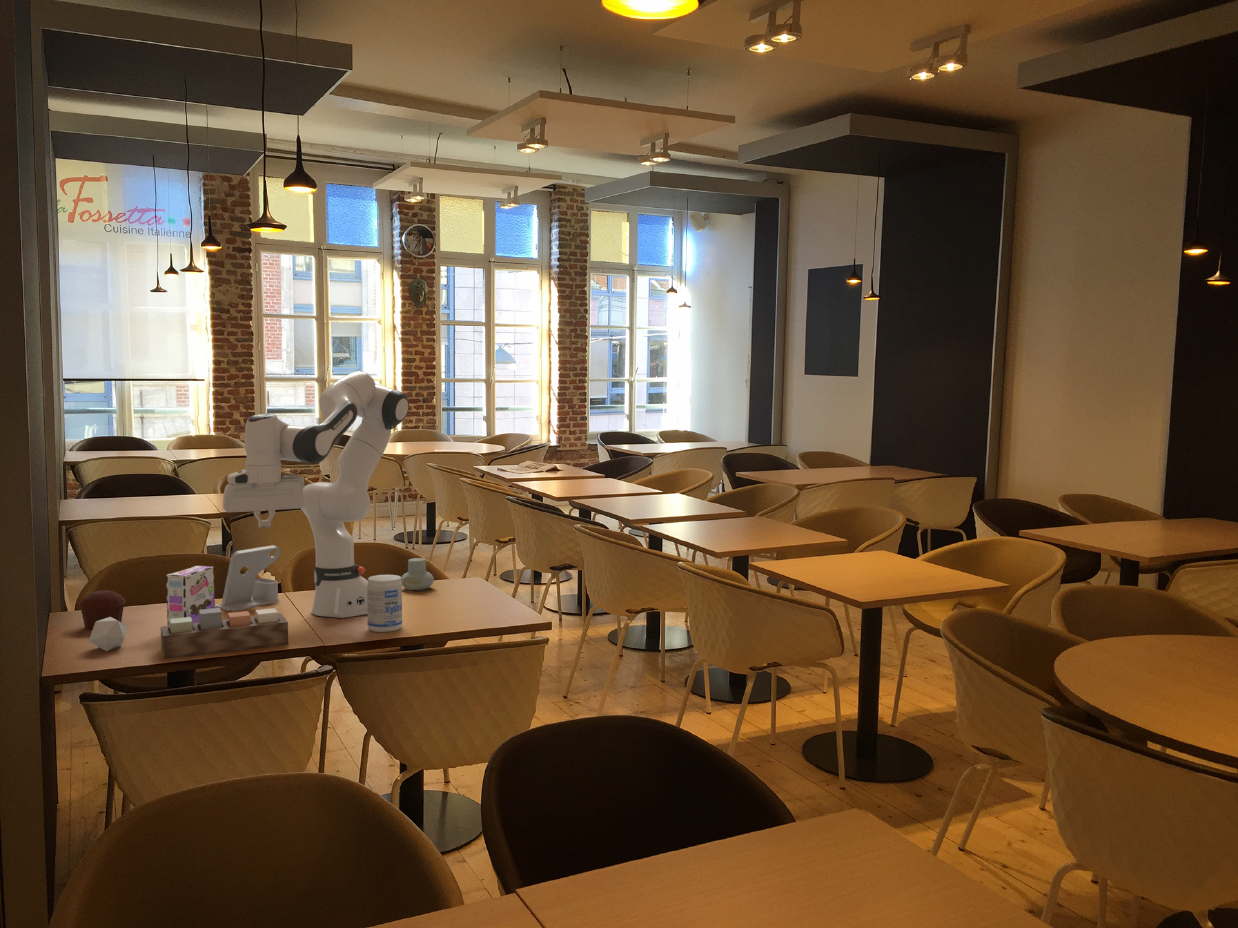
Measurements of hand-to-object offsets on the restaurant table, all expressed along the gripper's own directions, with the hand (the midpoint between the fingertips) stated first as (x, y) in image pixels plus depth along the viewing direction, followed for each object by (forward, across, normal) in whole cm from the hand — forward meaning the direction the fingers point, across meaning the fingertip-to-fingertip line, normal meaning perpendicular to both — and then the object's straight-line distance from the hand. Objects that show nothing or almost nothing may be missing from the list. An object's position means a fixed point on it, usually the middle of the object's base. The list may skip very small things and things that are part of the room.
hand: (264, 527), depth 255 cm
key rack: (+31, +10, 0) cm, 33 cm away
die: (+31, +38, -12) cm, 50 cm away
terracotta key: (+28, +7, 0) cm, 29 cm away
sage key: (+28, +21, 0) cm, 35 cm away
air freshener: (+31, -54, -44) cm, 77 cm away
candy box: (+31, +16, -25) cm, 43 cm away
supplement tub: (+31, -32, +1) cm, 44 cm away
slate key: (+26, +14, 0) cm, 30 cm away
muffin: (+31, +38, -37) cm, 62 cm away
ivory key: (+28, 0, 0) cm, 28 cm away
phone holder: (+31, -1, -47) cm, 56 cm away
